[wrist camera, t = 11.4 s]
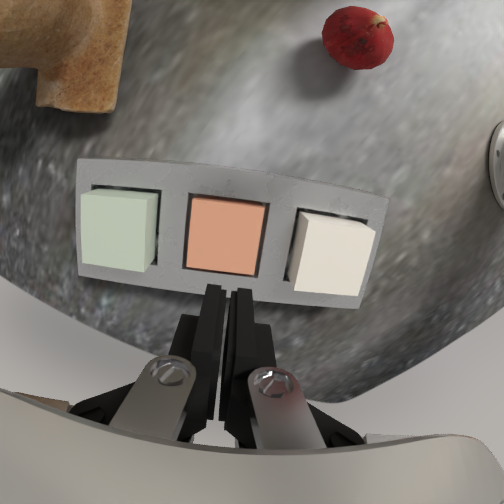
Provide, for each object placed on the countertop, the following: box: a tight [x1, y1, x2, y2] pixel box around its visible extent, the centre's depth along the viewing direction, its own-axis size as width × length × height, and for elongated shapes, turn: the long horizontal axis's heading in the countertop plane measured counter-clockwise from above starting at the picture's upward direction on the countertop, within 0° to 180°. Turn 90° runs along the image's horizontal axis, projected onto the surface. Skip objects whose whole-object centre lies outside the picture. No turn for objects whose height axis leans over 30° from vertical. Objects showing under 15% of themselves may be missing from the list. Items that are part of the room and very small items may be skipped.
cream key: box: [287, 212, 376, 296], centre depth 22 cm, size 5×5×3 cm
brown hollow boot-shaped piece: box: [0, 0, 132, 114], centre depth 12 cm, size 15×12×15 cm
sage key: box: [81, 189, 158, 272], centre depth 20 cm, size 5×5×3 cm
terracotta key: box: [186, 194, 265, 275], centre depth 23 cm, size 5×5×3 cm
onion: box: [322, 6, 394, 70], centre depth 17 cm, size 6×6×8 cm
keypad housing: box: [76, 157, 389, 309], centre depth 24 cm, size 25×10×4 cm, turn 81°
